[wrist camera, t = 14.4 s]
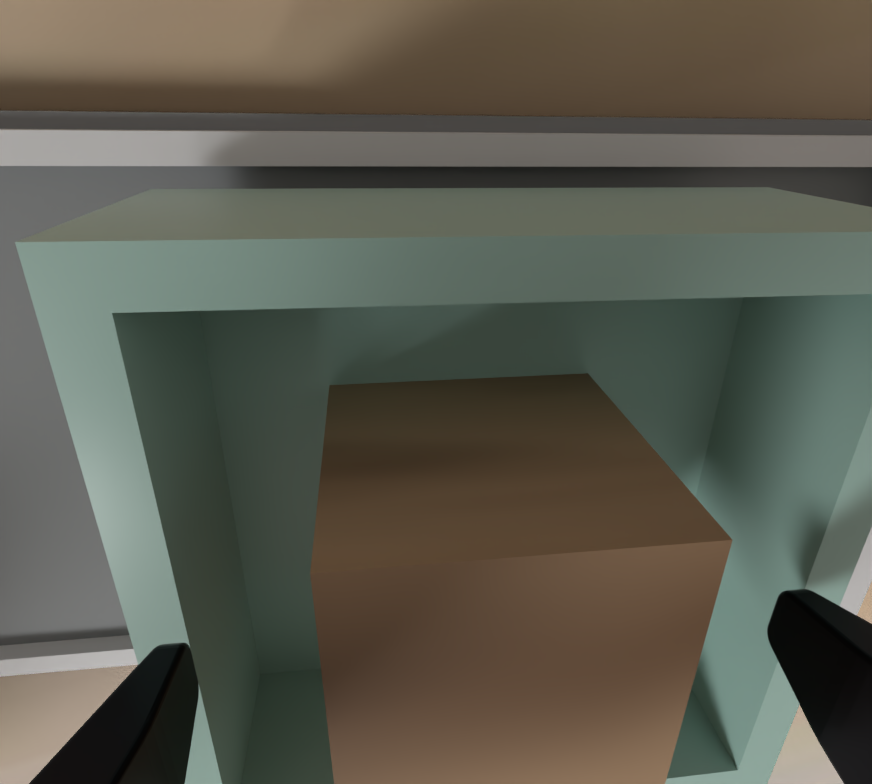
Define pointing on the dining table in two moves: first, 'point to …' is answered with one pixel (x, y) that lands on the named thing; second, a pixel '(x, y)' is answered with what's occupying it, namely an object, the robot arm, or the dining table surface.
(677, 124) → the rail board
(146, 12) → the dining table surface
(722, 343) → the sage green storage bin
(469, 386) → the block
